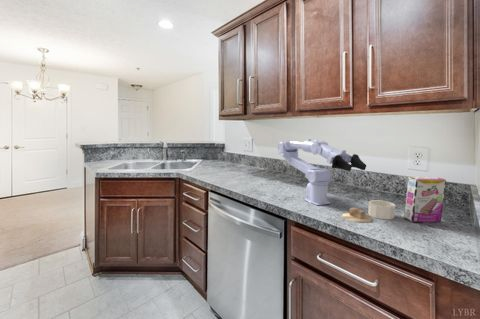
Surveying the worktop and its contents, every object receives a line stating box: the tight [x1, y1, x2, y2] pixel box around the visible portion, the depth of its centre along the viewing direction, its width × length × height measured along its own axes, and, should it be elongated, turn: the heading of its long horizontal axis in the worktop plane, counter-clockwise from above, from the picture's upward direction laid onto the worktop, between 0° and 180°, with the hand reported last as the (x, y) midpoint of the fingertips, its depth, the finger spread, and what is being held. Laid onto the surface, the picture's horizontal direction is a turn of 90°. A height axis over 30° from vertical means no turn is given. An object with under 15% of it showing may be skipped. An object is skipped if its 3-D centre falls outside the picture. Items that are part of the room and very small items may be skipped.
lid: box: [342, 207, 373, 224], centre depth 98 cm, size 10×10×4 cm
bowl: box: [367, 199, 396, 220], centre depth 100 cm, size 9×9×5 cm
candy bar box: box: [403, 176, 447, 223], centre depth 94 cm, size 11×5×16 cm, turn 92°
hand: (358, 168), depth 97 cm, fingers open, 7 cm apart
